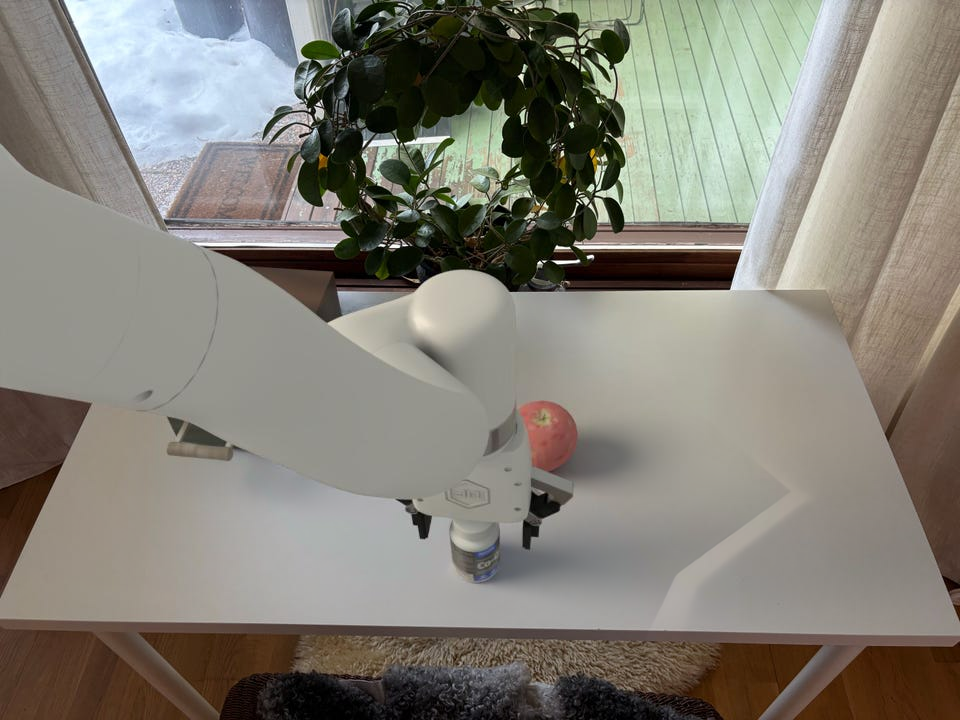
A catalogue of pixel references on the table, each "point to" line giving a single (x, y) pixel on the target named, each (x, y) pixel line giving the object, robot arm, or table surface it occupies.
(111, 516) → the table surface
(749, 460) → the table surface
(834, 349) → the table surface
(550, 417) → the apple
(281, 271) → the cabinet
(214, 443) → the drawer
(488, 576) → the pill bottle
